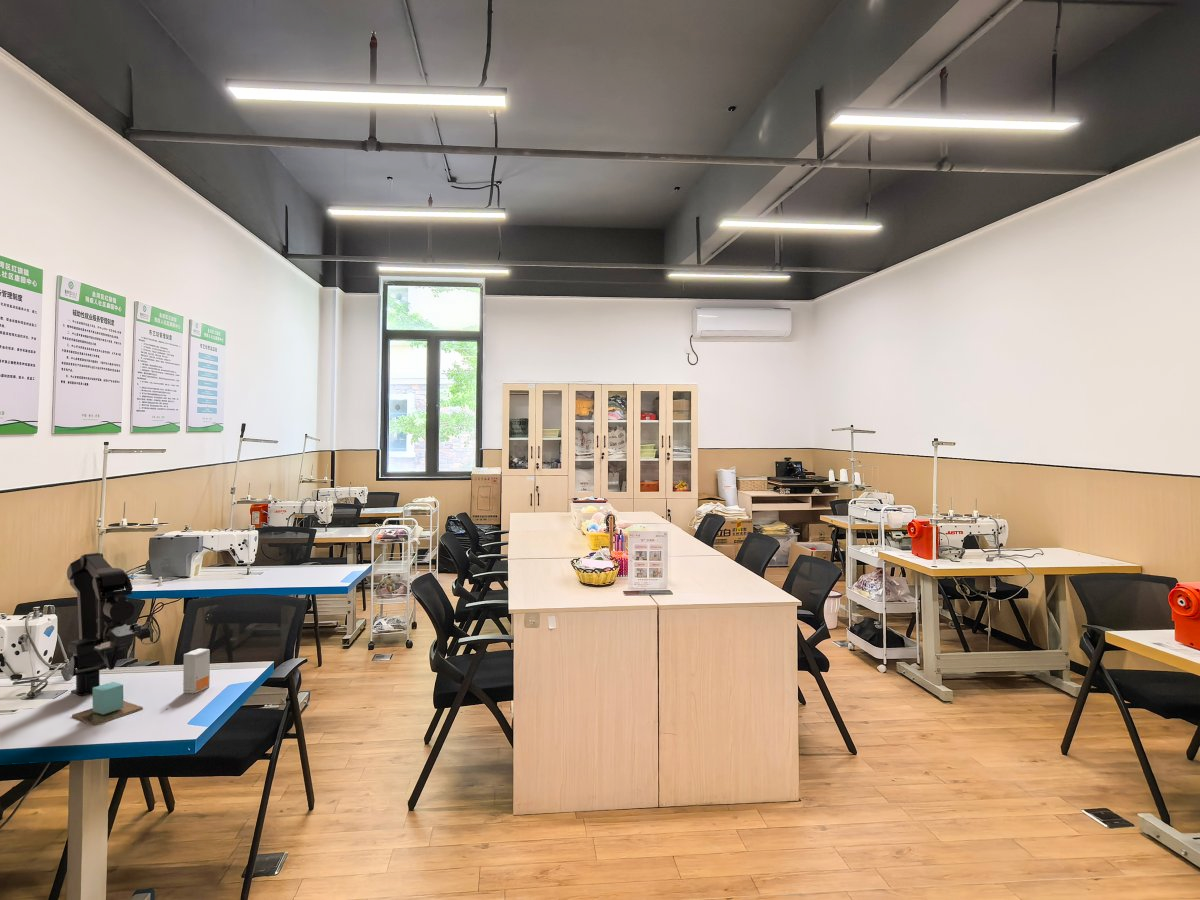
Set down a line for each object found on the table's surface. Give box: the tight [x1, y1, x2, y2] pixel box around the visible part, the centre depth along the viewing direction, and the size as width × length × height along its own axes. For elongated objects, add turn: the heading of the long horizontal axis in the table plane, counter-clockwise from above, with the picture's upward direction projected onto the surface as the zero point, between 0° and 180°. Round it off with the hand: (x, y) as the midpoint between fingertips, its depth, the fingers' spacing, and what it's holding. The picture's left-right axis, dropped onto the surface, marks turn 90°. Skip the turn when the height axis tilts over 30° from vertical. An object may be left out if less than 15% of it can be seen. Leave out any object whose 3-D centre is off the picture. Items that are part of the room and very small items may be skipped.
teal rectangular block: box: [92, 681, 124, 714], centre depth 184 cm, size 5×5×7 cm
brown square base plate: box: [71, 700, 144, 726], centre depth 184 cm, size 12×12×7 cm
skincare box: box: [182, 647, 211, 694], centre depth 201 cm, size 6×4×12 cm
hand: (111, 669), depth 186 cm, fingers closed
